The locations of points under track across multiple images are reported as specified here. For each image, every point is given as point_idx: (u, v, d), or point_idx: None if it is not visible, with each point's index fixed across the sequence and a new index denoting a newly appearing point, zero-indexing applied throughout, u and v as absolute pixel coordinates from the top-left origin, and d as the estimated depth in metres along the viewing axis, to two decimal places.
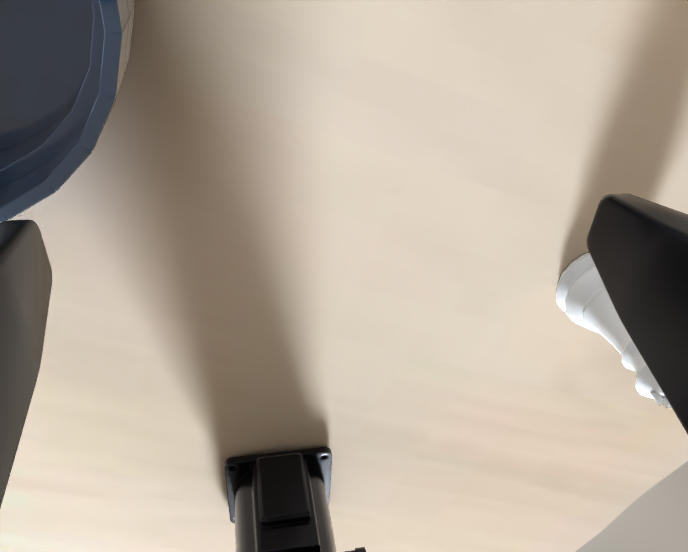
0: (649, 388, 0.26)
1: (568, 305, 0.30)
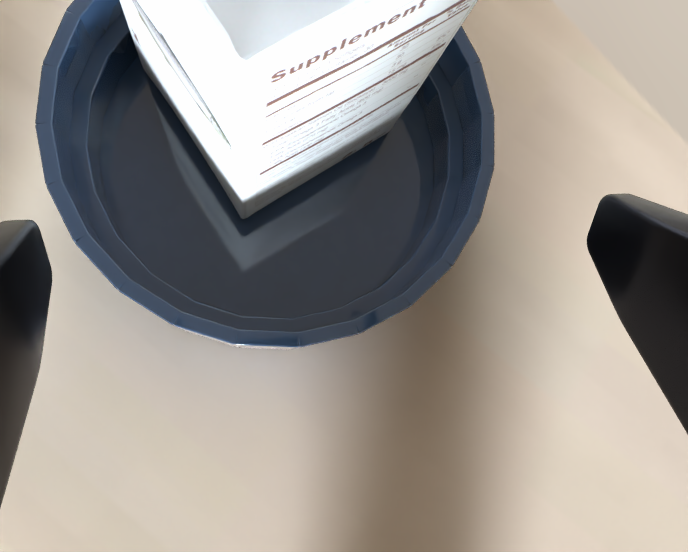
0: None
1: None
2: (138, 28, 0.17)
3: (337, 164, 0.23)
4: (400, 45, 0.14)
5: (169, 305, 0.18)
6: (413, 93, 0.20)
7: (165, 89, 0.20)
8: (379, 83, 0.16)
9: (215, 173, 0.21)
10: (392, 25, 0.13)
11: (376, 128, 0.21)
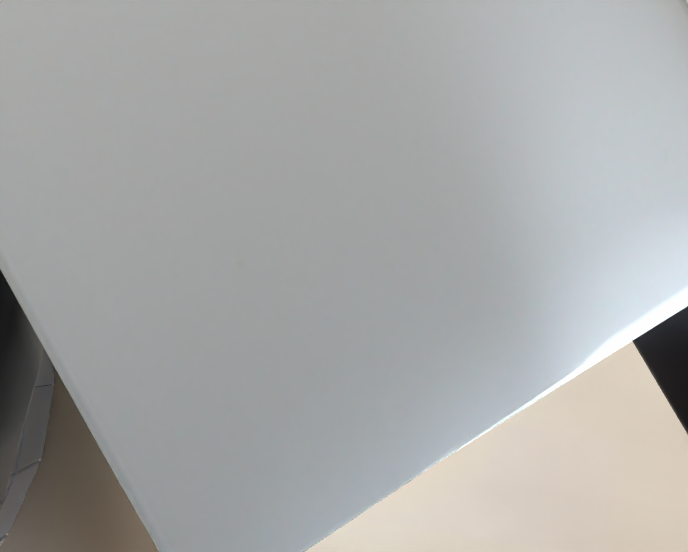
0: None
1: None
2: None
3: None
4: None
5: None
6: None
7: None
8: None
9: None
10: None
11: None
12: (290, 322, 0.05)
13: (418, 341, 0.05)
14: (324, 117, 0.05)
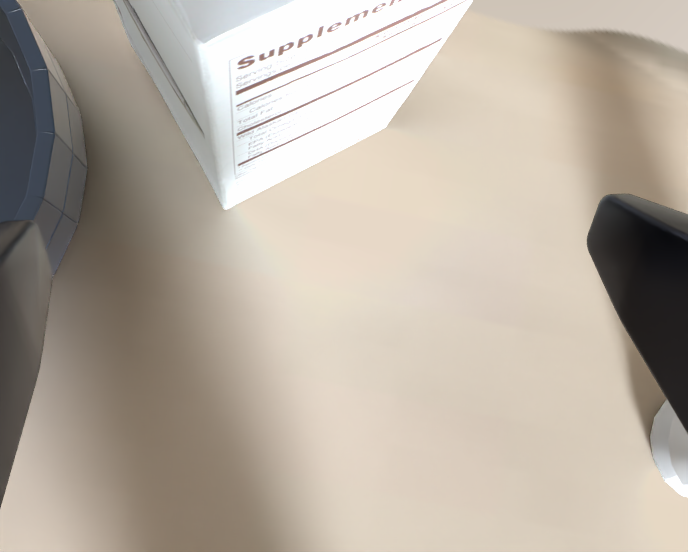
0: None
1: (679, 468, 0.22)
2: (118, 1, 0.16)
3: None
4: (390, 37, 0.13)
5: None
6: (409, 89, 0.19)
7: (148, 68, 0.19)
8: (368, 76, 0.15)
9: None
10: (377, 14, 0.12)
11: (369, 123, 0.20)
12: None
13: None
14: None
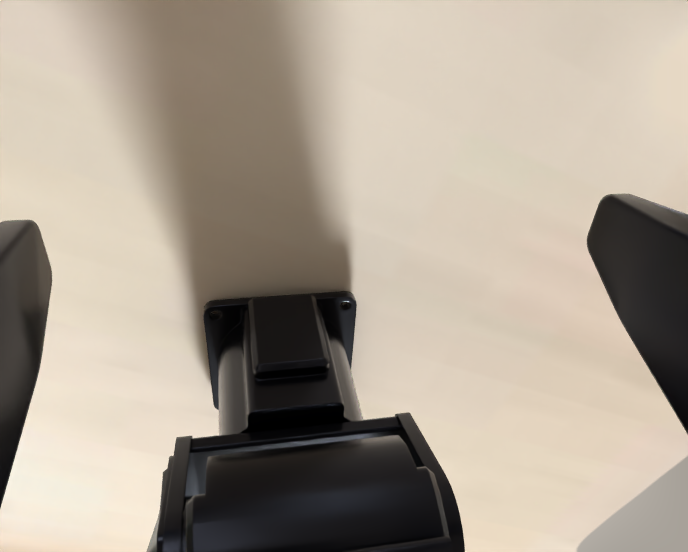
0: None
1: None
2: None
3: None
4: None
5: None
6: None
7: None
8: None
9: None
10: None
11: None
12: None
13: None
14: None
